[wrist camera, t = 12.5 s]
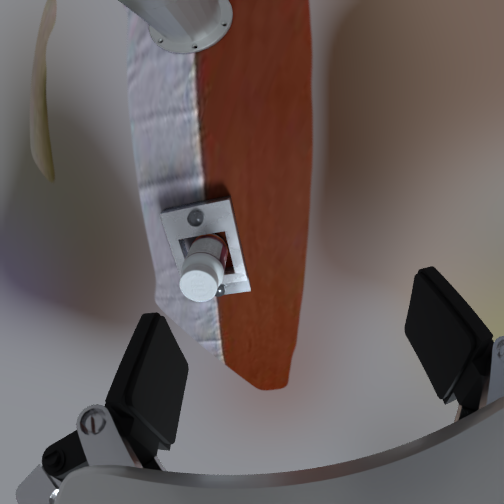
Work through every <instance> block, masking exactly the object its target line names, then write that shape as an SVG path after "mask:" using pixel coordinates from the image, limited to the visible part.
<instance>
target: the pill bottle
mask: <svg viewBox="0 0 504 504" xmlns="http://www.w3.org/2000/svg"><path fill="white" fill-rule="evenodd" d="M227 254H228V249H227V245H226V243H225V241H224V240H223V239H222V238H221V237H219V236H218V235H215V234H212V233H211V234H206V235H200V236H198V237H197V238H196V239H195V240H194V241H193V243H192V245H191V247H190V250H189V252H188V254H187V256H186V258H185V260H184V263H183V265H182V269H181V274H182V276H181V278H180V289H181V291H182V293H183V294H184V295H185V296H186V297H187V298H189V299H191V300H193V301H197V302H204V301H208V300H210V299H212V298H213V297H214V296H215V294H216V292H217V288H218V287H219V286H220V284H221V283H222V280H223V277H224V271H225V265H226V260H227Z"/></svg>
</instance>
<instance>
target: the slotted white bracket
mask: <svg viewBox="0 0 504 504" xmlns="http://www.w3.org/2000/svg"><path fill="white" fill-rule="evenodd" d="M160 216H161V220H162V223H163V226H164V229H165V232H166V235H167V239H168V242H169V245H170V248H171V251H172V254H173V257H174V259H175V262H176V265H177V268H178V271H179V274H180V276H182V274H181V269H182V265H183V263H184V260H185V258H186V256H187V254H188V252H187V249H186V246H185V243H184V240H183V239H184V238H190V237H195V236H200V235H206V234H211V233H217V232H223V231H225V234H226V238H227V242H228V246H229V250H230V254H231V258H232V262H233V267H227V268H225V271H224V277H223V280H222V283H221V284H220V286H219V287H218V288H217V292H216V294H215V296H218V297H219V296H222V295H225V294H232V293H239V292H246V291H251V285H250V281H249V277H248V272H247V268H246V263H245V259H244V254H243V250H242V245H241V241H240V236H239V232H238V227H237V223H236V218H235V213H234V209H233V204H232V200H231V195H230V196H224V197H219V198H214V199H209V200H204V201H200V202H195V203H190V204H185V205H181V206H176V207H172V208H168V209H164V210H163V211H162V212H161V213H160Z"/></svg>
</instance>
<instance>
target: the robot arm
mask: <svg viewBox="0 0 504 504" xmlns="http://www.w3.org/2000/svg"><path fill="white" fill-rule="evenodd" d="M118 1H120V2H121V3H122V4H124V5H125V6H126V7H128V8H129V9H130V10H131V11H133V12H134V13H135V14H137V15H138V16H139V17H140V18H142V19H143V20H144V21H145V22H147V23H148V24H149V32H150V36H151V38H152V39H153V41H154V42H155V43H156V44H157V45H158V46H159V47H161V48H162V49H164V50H166V51H168V52H172V53H177V54H190V53H195V52H199V51H202V50H205V49H207V48H209V47H211V46H213V45H214V44H216V43H217V42H218V41H219V40H221V39H222V38H223V36H224V35H225V34H226V33H227V31H228V30H229V28H230V26H231V23H232V18H233V13H232V7H231V4H230V3H229V1H228V0H118ZM223 25H226V26H223ZM162 41H163V42H162ZM161 42H162V43H161ZM196 46H197V48H196V49H194V47H196ZM405 334H406V336H407V338H408V339H409V341H410V343H411V345H412V347H413V349H414V351H415V352H416V354H417V356H418V358H419V360H420V362H421V363H422V365H423V367H424V369H425V371H426V373H427V375H428V377H429V379H430V381H431V383H432V385H433V387H434V389H435V392H436V393H437V396H438V397H439V398H440V399H443V401H444V403H445V404H448V403H450V402H452V401H454V400H456V399H457V401H458V403H459V405H458V410H457V413H456V417H455V420H454V423H453V424H451V425H448V426H446V427H444V428H442V429H440V430H438V431H436V432H433V433H431V434H429V435H427V436H424V437H422V438H419V439H417V440H414V441H412V442H409V443H407V444H404V445H401V446H398V447H396V448H393V449H390V450H387V451H384V452H380V453H377V454H374V455H370V456H367V457H363V458H359V459H356V460H351V461H347V462H343V463H338V464H334V465H329V466H324V467H318V468H312V469H306V470H299V471H290V472H282V473H271V474H256V475H255V474H254V475H205V474H190V473H178V472H168V471H166V470H165V468H164V467H163V465H162V464H161V462H160V461H159V459H158V457H157V450H158V449H161V450H170V445H171V444H173V443H174V442H175V438H176V433H177V427H178V422H179V416H180V411H181V405H182V400H183V395H184V390H185V385H186V380H187V375H188V363H187V361H186V359H185V357H184V355H183V353H182V352H181V350H180V348H179V346H178V344H177V342H176V340H175V338H174V336H173V334H172V332H171V330H170V327H169V325H168V323H167V321H166V319H165V317H164V316H160V314H159V313H146V314H143V315H142V316H141V319H140V321H139V323H138V325H137V327H136V329H135V331H134V334H133V336H132V338H131V340H130V343H129V345H128V347H127V349H126V351H125V354H124V356H123V358H122V361H121V363H120V365H119V368H118V370H117V373H116V375H115V378H114V380H113V383H112V385H111V387H110V390H109V392H108V395H107V398H106V400H105V401H106V404H105V406H102V405H98V404H97V405H91V406H89V407H87V408H85V409H84V410H83V411H82V412H81V413H80V415H79V417H78V419H77V423H76V425H77V430H76V431H74V432H73V433H71V434H69V435H67V436H66V437H64V438H62V439H61V440H59V441H57V442H55V443H54V444H52V445H51V446H49V447H48V448H47V449H46V450H45V452H44V454H43V456H42V465H43V466H42V465H40V464H39V465H38V466H37V467H36V468H35V469H34V470H33V471H32V472H31V474H30V475H28V477H27V478H26V479H25V480H24V481H23V482H22V483H21V484H20V485H19V486H18V488H17V490H16V499H17V502H18V504H504V336H502V337H499V338H497V339H496V340H495V342H493V340H492V337H493V334H492V333H491V332H490V330H489V329H488V328H487V327H486V325H485V324H484V323H483V322H482V320H481V319H480V318H479V317H478V315H477V314H476V313H475V312H474V311H473V309H472V308H471V307H470V306H469V305H468V304H467V302H466V301H465V300H464V299H463V298H462V297H461V295H459V293H458V292H457V291H456V290H455V289H454V288H453V287H452V285H450V283H449V282H448V281H447V280H446V279H445V278H444V277H443V276H442V275H441V274H440V273H439V272H438V271H437V270H436V268H434V267H427V268H423V269H420V270H419V271H418V274H416V275H415V278H414V283H413V289H412V294H411V300H410V305H409V310H408V315H407V319H406V323H405Z"/></svg>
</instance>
